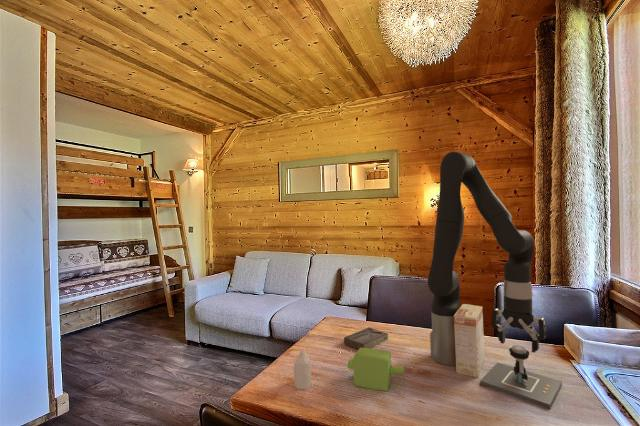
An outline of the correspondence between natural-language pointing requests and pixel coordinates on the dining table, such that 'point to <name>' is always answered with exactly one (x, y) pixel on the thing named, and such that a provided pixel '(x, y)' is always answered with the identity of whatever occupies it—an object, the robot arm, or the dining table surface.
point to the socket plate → (535, 391)
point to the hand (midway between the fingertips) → (518, 346)
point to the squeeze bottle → (302, 371)
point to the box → (365, 338)
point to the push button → (519, 363)
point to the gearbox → (373, 368)
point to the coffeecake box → (469, 340)
